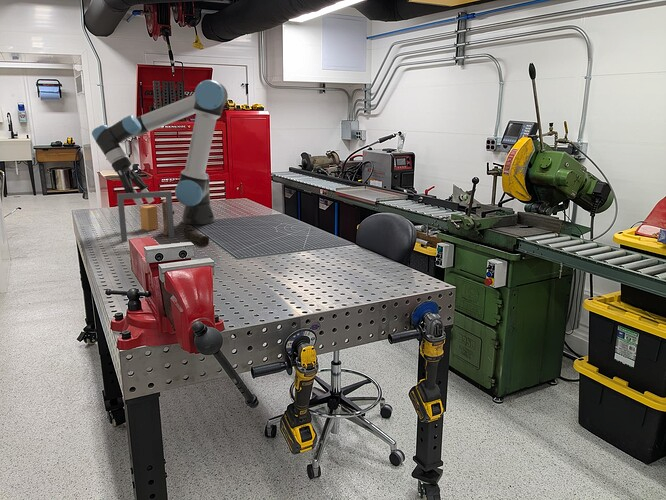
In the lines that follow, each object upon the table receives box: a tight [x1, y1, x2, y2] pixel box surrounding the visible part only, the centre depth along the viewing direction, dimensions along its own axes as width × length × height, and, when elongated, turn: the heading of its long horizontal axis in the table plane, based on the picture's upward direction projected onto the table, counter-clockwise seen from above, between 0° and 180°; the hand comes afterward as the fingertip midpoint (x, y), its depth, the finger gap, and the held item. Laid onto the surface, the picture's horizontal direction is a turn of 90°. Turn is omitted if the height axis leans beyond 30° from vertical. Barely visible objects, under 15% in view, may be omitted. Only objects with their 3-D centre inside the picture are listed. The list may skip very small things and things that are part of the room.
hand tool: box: [183, 226, 210, 247], centre depth 203 cm, size 19×4×5 cm, turn 38°
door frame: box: [116, 190, 175, 242], centre depth 203 cm, size 20×2×19 cm, turn 119°
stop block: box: [139, 204, 159, 231], centre depth 221 cm, size 5×5×10 cm
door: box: [161, 198, 175, 236], centre depth 214 cm, size 14×3×14 cm, turn 9°
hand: (146, 203), depth 218 cm, fingers open, 13 cm apart
